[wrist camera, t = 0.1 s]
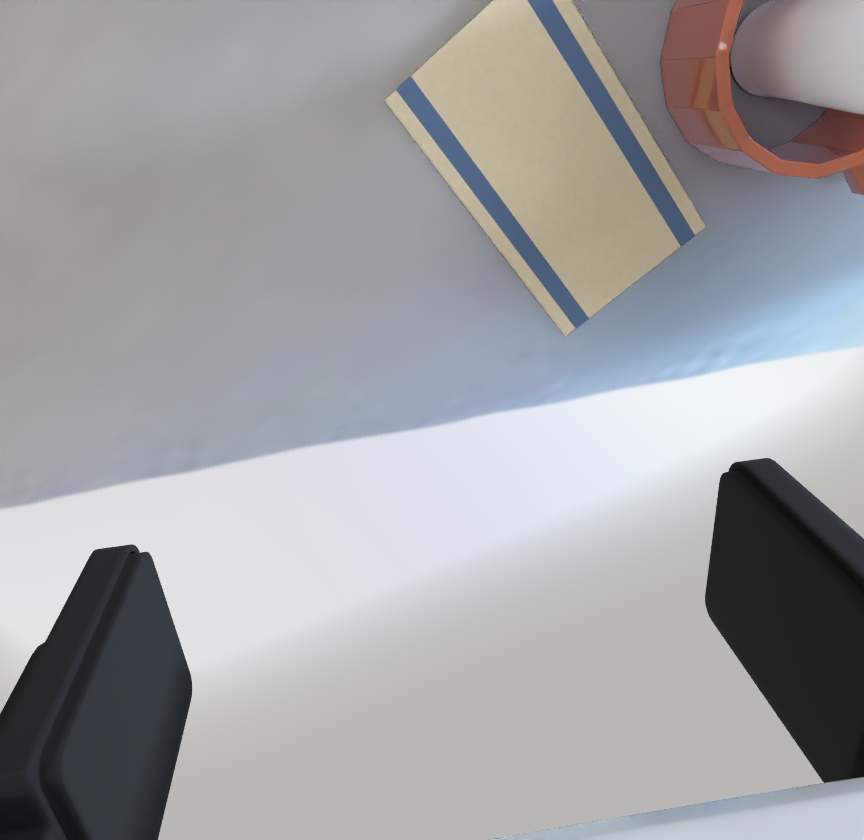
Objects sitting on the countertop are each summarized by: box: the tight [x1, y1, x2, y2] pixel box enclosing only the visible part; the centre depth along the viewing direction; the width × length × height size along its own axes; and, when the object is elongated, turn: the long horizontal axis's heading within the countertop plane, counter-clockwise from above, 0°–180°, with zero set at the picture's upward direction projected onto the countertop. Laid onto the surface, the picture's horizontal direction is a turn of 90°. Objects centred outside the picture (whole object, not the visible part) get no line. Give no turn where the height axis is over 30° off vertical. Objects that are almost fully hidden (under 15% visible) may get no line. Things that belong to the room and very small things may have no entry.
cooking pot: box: [661, 0, 864, 195], centre depth 40 cm, size 18×14×7 cm
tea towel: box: [384, 0, 706, 336], centre depth 45 cm, size 20×12×1 cm, turn 39°
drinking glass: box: [730, 0, 864, 115], centre depth 37 cm, size 7×7×15 cm
